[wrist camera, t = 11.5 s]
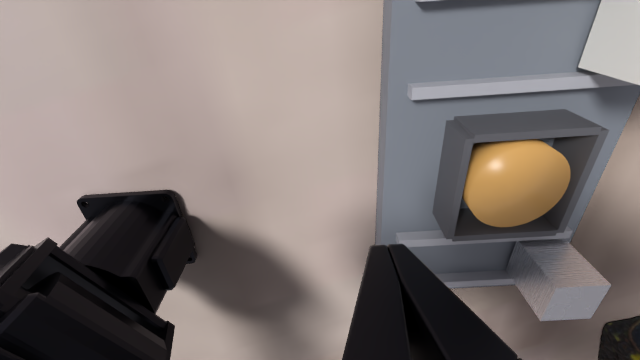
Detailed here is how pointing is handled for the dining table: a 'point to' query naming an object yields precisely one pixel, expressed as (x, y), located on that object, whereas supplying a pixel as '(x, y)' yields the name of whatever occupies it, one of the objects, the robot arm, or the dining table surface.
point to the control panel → (486, 122)
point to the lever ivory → (615, 41)
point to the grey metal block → (556, 279)
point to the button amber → (514, 181)
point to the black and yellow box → (621, 340)
